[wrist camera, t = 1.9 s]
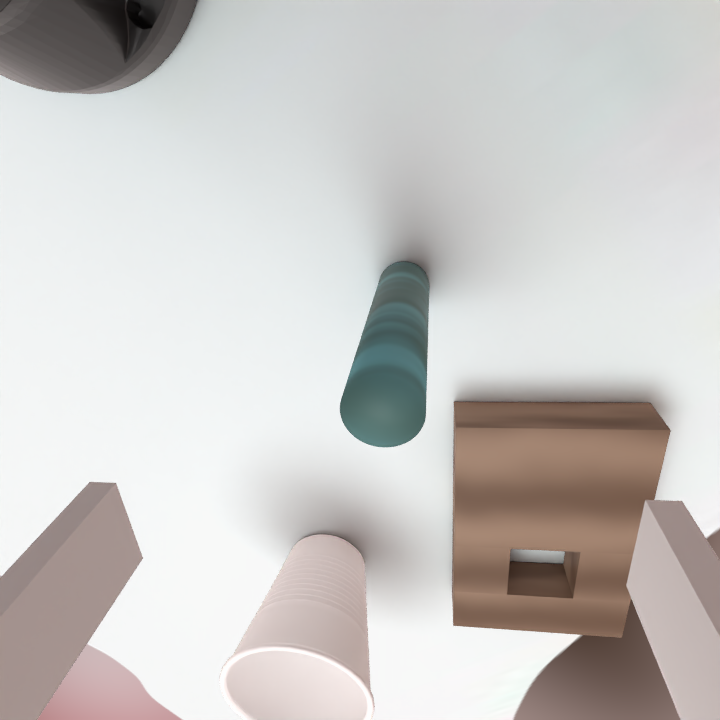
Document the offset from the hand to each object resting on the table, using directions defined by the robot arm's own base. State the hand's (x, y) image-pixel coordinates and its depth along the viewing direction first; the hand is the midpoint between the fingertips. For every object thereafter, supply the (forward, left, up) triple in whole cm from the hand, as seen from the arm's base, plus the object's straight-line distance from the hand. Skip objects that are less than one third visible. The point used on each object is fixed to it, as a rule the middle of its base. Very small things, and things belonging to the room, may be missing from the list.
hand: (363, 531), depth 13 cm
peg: (0, 0, -19) cm, 19 cm away
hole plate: (+17, +9, -19) cm, 27 cm away
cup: (+23, -7, -20) cm, 31 cm away
